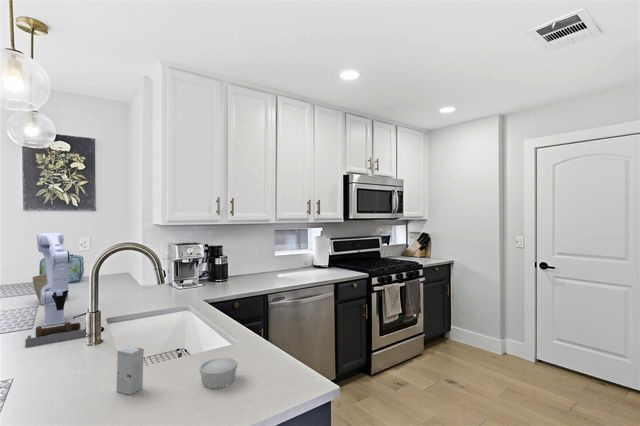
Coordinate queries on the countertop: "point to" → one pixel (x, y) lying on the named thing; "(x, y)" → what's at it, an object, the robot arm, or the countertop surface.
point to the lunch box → (69, 268)
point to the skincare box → (129, 369)
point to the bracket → (54, 338)
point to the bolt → (57, 329)
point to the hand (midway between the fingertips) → (60, 308)
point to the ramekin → (218, 372)
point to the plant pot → (39, 284)
